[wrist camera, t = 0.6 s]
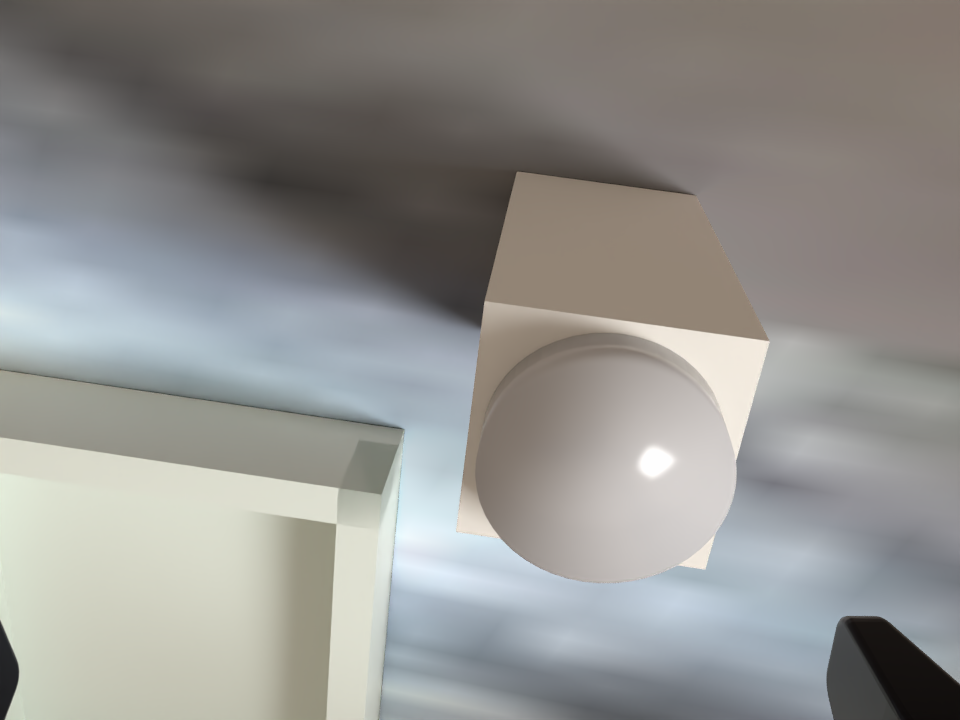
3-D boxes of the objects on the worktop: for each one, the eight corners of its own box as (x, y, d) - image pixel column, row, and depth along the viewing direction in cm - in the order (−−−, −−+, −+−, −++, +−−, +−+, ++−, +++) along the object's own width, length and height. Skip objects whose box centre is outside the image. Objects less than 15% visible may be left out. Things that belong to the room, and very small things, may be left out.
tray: (404, 429, 23) (381, 494, 20) (372, 799, 29) (351, 887, 26) (-46, 363, 23) (-128, 418, 20) (16, 740, 29) (-42, 822, 26)
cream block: (696, 195, 19) (785, 372, 11) (659, 357, 21) (714, 612, 13) (516, 171, 20) (477, 329, 11) (495, 334, 21) (447, 572, 13)
